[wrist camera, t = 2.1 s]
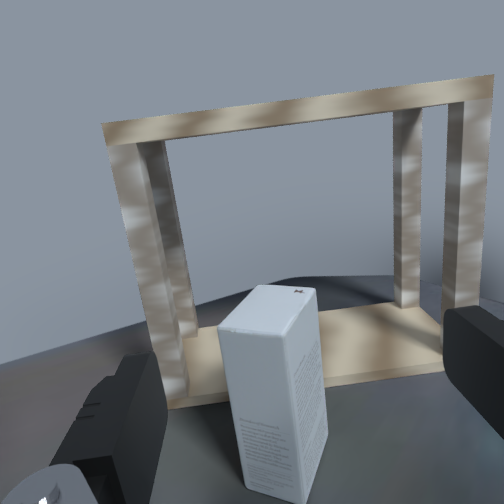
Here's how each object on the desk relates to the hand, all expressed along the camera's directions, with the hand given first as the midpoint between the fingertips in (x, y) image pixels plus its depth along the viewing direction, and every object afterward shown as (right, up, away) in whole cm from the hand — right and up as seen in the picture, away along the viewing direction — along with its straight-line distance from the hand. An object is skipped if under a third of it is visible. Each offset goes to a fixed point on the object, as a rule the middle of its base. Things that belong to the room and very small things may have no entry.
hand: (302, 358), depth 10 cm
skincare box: (+1, -12, +15) cm, 19 cm away
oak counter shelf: (+4, -7, +28) cm, 29 cm away
